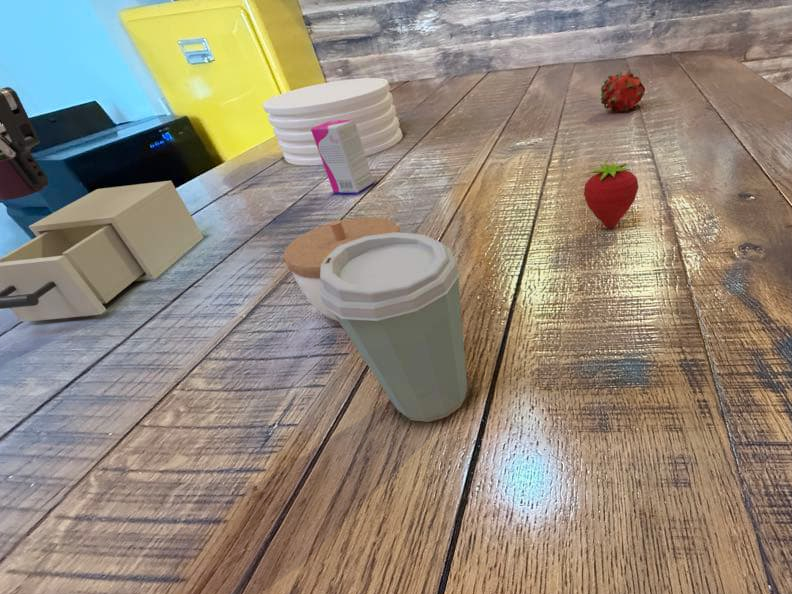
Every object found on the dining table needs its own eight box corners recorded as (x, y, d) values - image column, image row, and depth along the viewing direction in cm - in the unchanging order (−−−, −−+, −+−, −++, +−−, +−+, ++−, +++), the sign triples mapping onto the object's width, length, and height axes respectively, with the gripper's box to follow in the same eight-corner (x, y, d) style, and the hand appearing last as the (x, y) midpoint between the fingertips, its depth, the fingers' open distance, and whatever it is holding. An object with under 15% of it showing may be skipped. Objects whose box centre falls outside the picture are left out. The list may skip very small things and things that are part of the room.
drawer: (76, 334, 64) (28, 278, 58) (-7, 342, 65) (-62, 287, 59) (158, 266, 77) (125, 216, 72) (89, 273, 78) (51, 224, 73)
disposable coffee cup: (492, 362, 51) (460, 216, 41) (486, 439, 43) (445, 280, 33) (389, 373, 52) (334, 231, 42) (364, 450, 44) (289, 298, 34)
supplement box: (376, 184, 98) (355, 118, 91) (358, 196, 94) (335, 127, 87) (351, 184, 100) (329, 119, 93) (333, 195, 96) (308, 128, 89)
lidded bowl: (311, 304, 65) (272, 219, 58) (407, 275, 68) (381, 191, 61) (322, 354, 56) (277, 261, 49) (432, 319, 59) (405, 226, 52)
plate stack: (300, 175, 109) (276, 114, 101) (274, 150, 127) (252, 98, 119) (420, 141, 118) (406, 84, 111) (379, 123, 137) (365, 73, 129)
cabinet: (155, 280, 76) (112, 217, 69) (77, 288, 77) (28, 226, 70) (204, 238, 87) (171, 180, 80) (135, 246, 88) (97, 189, 81)
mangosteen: (-12, 202, 62) (-43, 164, 59) (20, 187, 66) (-8, 151, 63) (26, 197, 62) (-4, 159, 59) (55, 183, 66) (29, 146, 63)
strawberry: (645, 229, 71) (647, 152, 64) (594, 241, 69) (591, 164, 63) (627, 215, 75) (628, 141, 68) (579, 226, 74) (575, 152, 67)
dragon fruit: (596, 123, 119) (639, 120, 124) (614, 103, 112) (659, 101, 116) (588, 86, 119) (631, 85, 123) (606, 63, 111) (651, 62, 115)
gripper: (-17, 8, 55) (93, 173, 66) (-136, 27, 56) (-8, 186, 67) (-80, 16, 49) (52, 194, 60) (-211, 35, 50) (-58, 207, 62)
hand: (20, 189), depth 64 cm, fingers closed on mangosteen, 5 cm apart
